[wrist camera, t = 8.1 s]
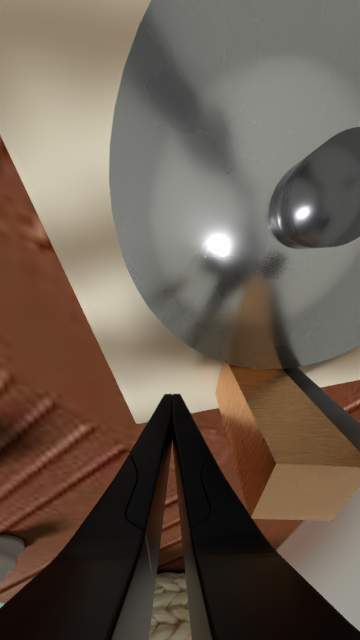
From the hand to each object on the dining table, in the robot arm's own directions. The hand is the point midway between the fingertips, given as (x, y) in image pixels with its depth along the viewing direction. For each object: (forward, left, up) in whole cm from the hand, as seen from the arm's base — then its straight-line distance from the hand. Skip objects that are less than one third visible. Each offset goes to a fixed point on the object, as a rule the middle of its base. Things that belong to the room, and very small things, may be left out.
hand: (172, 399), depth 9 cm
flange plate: (-6, +7, -2) cm, 9 cm away
